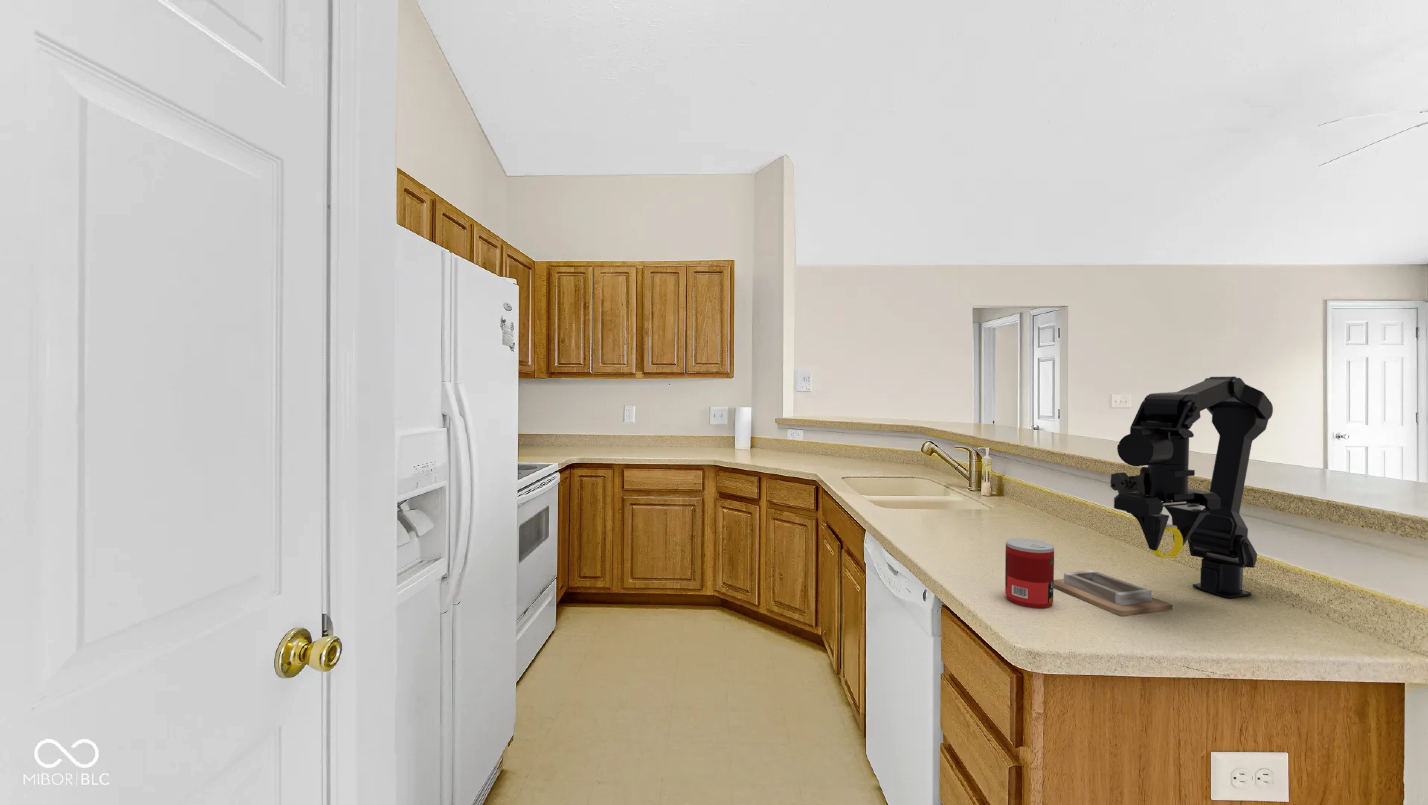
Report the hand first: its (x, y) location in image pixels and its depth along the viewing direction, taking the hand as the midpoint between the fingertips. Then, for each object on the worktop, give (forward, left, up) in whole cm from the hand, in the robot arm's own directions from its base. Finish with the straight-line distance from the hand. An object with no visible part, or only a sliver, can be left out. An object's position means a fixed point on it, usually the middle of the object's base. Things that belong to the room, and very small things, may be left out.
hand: (1165, 548), depth 101 cm
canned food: (+21, -10, -11) cm, 25 cm away
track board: (+5, -8, -11) cm, 14 cm away
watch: (0, 0, -2) cm, 2 cm away
